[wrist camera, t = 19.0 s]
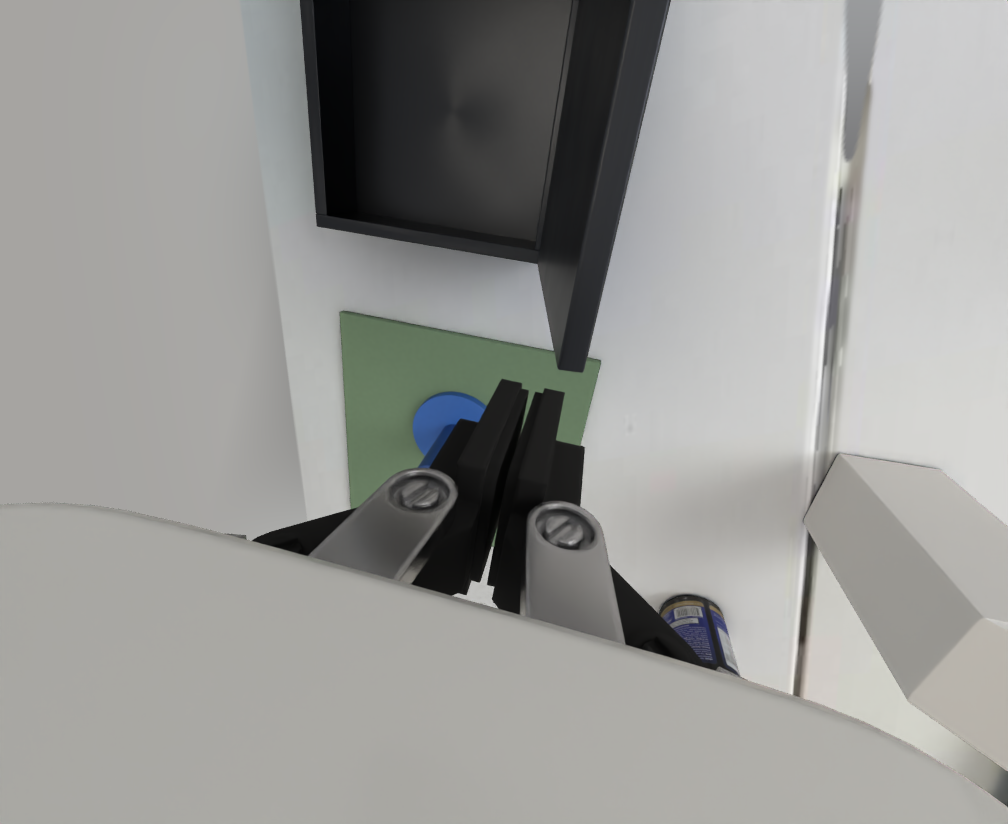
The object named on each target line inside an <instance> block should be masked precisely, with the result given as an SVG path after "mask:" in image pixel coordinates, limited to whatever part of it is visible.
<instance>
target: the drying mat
mask: <svg viewBox="0 0 1008 824" xmlns="http://www.w3.org/2000/svg"><path fill="white" fill-rule="evenodd" d="M340 327H341V345H342V362H343V380H344V397H345V415H346V433H347V450H348V468H349V485H350V503H351V509H354V508H357V507H359V506H360V505H361V504H362V503H363V502H364V501H365V500H366V499H367V498H369V497H370V496H371V495H372V494H373V493H374V492H375V491H376V490H377V489H378V488H379V487H380V486H381V485H382V484H383V483H384V482H385V481H386V480H387V479H388V478H390V477H391V476H392V475H394V474H395V473H397V472H400V471H402V470H405V469H411V468H417V467H418V466H419V464H420V463H421V461H422V460H423V458H424V457H425V456H424V455H423V453H422V452H421V451H420V449H419V447H418V446H417V444H416V442H415V439H414V435H413V420H414V416H415V414H416V412H417V410H418V409H419V407H420V406H421V405H422V404H423V403H424V402H425V401H426V400H427V399H428V398H430V397H431V396H433V395H436V394H438V393H442V392H460V393H464V394H467V395H470V396H472V397H474V398H476V399H478V400H479V401H481V402H482V403H483V404H484V405H486V406H487V405H488V403H489V401H490V399H491V397H492V396H493V394H494V392H495V390H496V388H497V386H498V384H499V382H500V381H501V379H506V380H510V381H515V382H520V383H522V389H526V390H529V394H528V399H527V404H526V410H525V415H524V420H523V425H522V429H523V426H524V423H525V420H526V417H527V414H528V411H529V408H530V405H531V402H532V400H533V397H534V394H535V392H540V393H543V391H544V388H547V389H552V390H556V391H561V392H565V395H564V400H563V406H562V411H561V416H560V421H559V426H558V432H557V437H556V440H557V441H561V442H566V443H570V444H574V445H579V446H580V444H581V440H582V436H583V432H584V428H585V424H586V420H587V416H588V412H589V408H590V404H591V400H592V396H593V392H594V388H595V384H596V380H597V376H598V372H599V369H600V365H601V361H600V360H596V359H591V358H587V361H586V365H585V369H584V372H583V373H579V372H571V371H563V370H559V369H558V368H557V363H556V358H555V353H554V351H549V350H544V349H539V348H534V347H528V346H523V345H518V344H513V343H508V342H503V341H497V340H492V339H487V338H482V337H477V336H471V335H466V334H461V333H456V332H451V331H446V330H440V329H435V328H430V327H425V326H420V325H415V324H409V323H404V322H399V321H394V320H389V319H383V318H378V317H373V316H368V315H363V314H358V313H352V312H347V311H342V312H340ZM521 432H522V431H521ZM496 532H497V530H496ZM495 538H496V533H495V536H494V540H493V543H492V547H494V543H495Z"/></svg>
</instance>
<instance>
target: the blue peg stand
mask: <svg viewBox="0 0 1008 824" xmlns="http://www.w3.org/2000/svg"><path fill="white" fill-rule="evenodd" d="M486 407H487V406H486V405H484V404H483V403H482V402H481V401H479V400H478V399H476V398H474V397H472V396H470V395H467V394H464V393H460V392H442V393H438V394H436V395H433V396H431V397H430V398H428V399H427V400H426V401H425V402H424V403H423V404H422V405H421V406H420V407H419V409H418V410H417V412H416V414H415V416H414V420H413V435H414V439H415V442H416V444H417V446H418V447H419V449H420V451H421V452H422V453H423V455H424V456H425V457H424V458H423V460H422V461H421V463H420V464H419V466H418V467H417V468H429V467H430V466H431V464H432V462H433V461H434V459H435V458H436V456H437V454H438V453H439V451H440V449H441V448H442V446H443V445H444V443H445V441H446V440H447V438H448V437H449V435H450V433H451V432H452V430H453V428H454V427H455V425H456V424H457V422H458V421H459V419H461V418H462V419H466V420H471V421H475V422H479V420H480V418H481V416H482V414H483V413H484V411H485V409H486Z"/></svg>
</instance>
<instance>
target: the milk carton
mask: <svg viewBox="0 0 1008 824" xmlns="http://www.w3.org/2000/svg"><path fill="white" fill-rule="evenodd" d="M803 522H804V524H805V526H806V528H807V529H808V531H809V533H810V535H811V536H812V538H813V540H814V541H815V543H816V545H817V547H818V548H819V550H820V552H821V553H822V555H823V557H824V559H825V560H826V562H827V564H828V565H829V567H830V569H831V570H832V572H833V574H834V576H835V577H836V579H837V581H838V582H839V584H840V586H841V588H842V589H843V591H844V593H845V594H846V596H847V598H848V600H849V601H850V603H851V605H852V606H853V608H854V610H855V611H856V613H857V615H858V617H859V618H860V620H861V622H862V623H863V625H864V627H865V629H866V630H867V632H868V634H869V635H870V637H871V639H872V640H873V642H874V644H875V646H876V647H877V649H878V651H879V652H880V654H881V656H882V658H883V659H884V661H885V663H886V664H887V666H888V668H889V670H890V671H891V673H892V675H893V676H894V678H895V680H896V681H897V683H898V685H899V687H900V688H901V690H902V692H903V693H904V695H905V697H906V699H907V701H908V702H909V703H911V704H912V705H913V706H915V707H916V708H918V709H919V710H921V711H922V712H923V713H925V714H926V715H928V716H929V717H931V718H932V719H933V720H935V721H936V722H938V723H939V724H941V725H942V726H943V727H945V728H946V729H948V730H949V731H951V732H952V733H953V734H955V735H956V736H958V737H959V738H961V739H962V740H963V741H965V742H966V743H968V744H969V745H971V746H972V747H973V748H975V749H976V750H978V751H979V752H980V753H982V754H983V755H985V756H986V757H988V758H989V759H990V760H992V761H993V762H995V763H996V764H998V765H999V766H1000V767H1002V768H1003V769H1005V770H1006V771H1008V526H1007V525H1005V524H1004V523H1003V522H1002V521H1001V520H1000V519H998V518H997V517H996V516H995V515H994V514H993V513H991V512H990V511H989V510H988V509H987V508H985V507H984V506H983V505H982V504H981V503H980V502H978V501H977V500H976V499H975V498H974V497H973V496H971V495H970V494H969V493H968V492H967V491H965V490H964V489H963V488H962V487H961V486H960V485H958V484H957V483H956V482H955V481H954V480H953V479H951V478H950V477H949V476H948V475H947V474H945V473H944V472H943V471H942V470H940V469H933V468H927V467H921V466H915V465H909V464H902V463H896V462H890V461H884V460H877V459H871V458H865V457H859V456H852V455H846V454H838V456H837V457H836V459H835V461H834V463H833V465H832V466H831V468H830V470H829V472H828V474H827V476H826V478H825V480H824V482H823V484H822V485H821V487H820V489H819V491H818V493H817V495H816V497H815V499H814V501H813V503H812V504H811V506H810V508H809V510H808V512H807V514H806V516H805V518H804V520H803Z"/></svg>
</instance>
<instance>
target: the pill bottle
mask: <svg viewBox="0 0 1008 824" xmlns="http://www.w3.org/2000/svg"><path fill="white" fill-rule="evenodd" d="M659 615H660V616H661V617H662V618H663V619H664V620H665V621H666V622H667V623H668V624H669V625H670V626H671V627H672V628H673V629H674V630H675V631H676V632H677V633H678V634H679V635H680V636H681V637H682V638H683V639H684V640H685V641H686V642H687V643H688V644H689V645H690V646H691V648H692V649H693V650H694V651H695V653H696V654H697V655H698V656H699V657H700V659H701V660H702V662H703V664H704V666H705V668H707V669H710V670H714V671H716V670H717V668H718V667H721V668H723V669H725V670H728V671H730V672H732V673H734V674H736V675H738V676H740V673H739V670H738V666H737V663H736V659H735V656H734V652H733V649H732V645H731V642H730V638H729V635H728V631H727V628H726V624H725V621H724V617H723V614H722V612H721V610H720V609H719V607H718V606H717V605H715V604H714V603H713V602H711V601H709V600H706V599H704V598H700V597H695V596H681V597H677V598H674V599H671V600H670V601H668V602H667V603H665V604H664V605H663V607H662V608H661V610H660V614H659Z"/></svg>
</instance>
